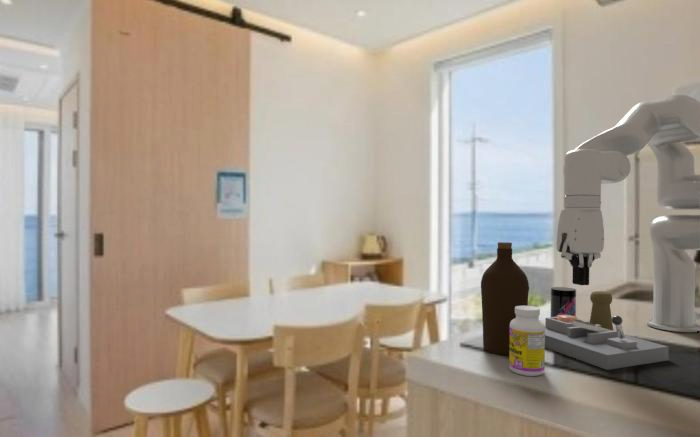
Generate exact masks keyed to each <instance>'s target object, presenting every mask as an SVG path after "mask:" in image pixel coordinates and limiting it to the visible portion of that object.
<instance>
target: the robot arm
mask: <svg viewBox="0 0 700 437" xmlns="http://www.w3.org/2000/svg"><path fill="white" fill-rule="evenodd" d="M622 117H623V118H621V119H620V121H618V123H617V124H616V125H614V126H613V127H611V128H608V129H607V130H605V131H603V132H601V133H599V134H598V135H595V136H593V137H591V138H590V139H588V140H586V141H584V142H582V143H581V144H579V146H577V147H576V148H575V149H574V150H573V149H571V150H570V151H568V152H566V154H565V156H564V164H563V165H564V166H563V176H564V179H563V183H564V184H563V209H561V210H560V212H559V219H558V224H557V230H556V231H557V232H556V234H557V235H556V250H557V252H559V253H560V254H561V255H560V258H561V259H564V260H568V261H569V265H570V267H572V284H573V285H579V286H589V285H590V268H591V267H592V265H593V262H594V261H595V260H598V259H600V258H601V256H602V255H601V253H602V252H603V251H604V247H605V226H604V219H603V212H602V210H601V209H602V207H601V205H602V201H601V199H602V198H601V195H602V194H601V193H602V190H601V189H602V185H605V184H607V185H609V184H616V183H619V182H622V181H624V180H625V179H626V178H627V177H628V176H629V175H630V172H631V165H632V164H631V162H630V159H629V157H628V156H630V155H634V154H636V153H638V152H640V151H641V150H642V149H644V148H645V147H646V146H648V147H650V149H651V151H652V153H653V154H654V157H655V159H656V163H657V165H656V166H657V167H656V168H657V169H656V170H657V173H656V175H657V178H656V184H657V186H656V198H657V199H656V200H657V203H658V205H659V207H661V208H662V209H664V210H665V209H666V210H672V211H675V210H676V211H677V210H678V211H682V210H684V211H693V210H695V211H696V210H697V211H699V210H700V174H696V173H695V157H694V154H693V153H692V152H691V150H690V149H689V148H688V147H687V146H686V145H684V144H683V142H692V141H700V101H699V100H697V99H696V98H694V97H692V96H689V95H685V94H673V95H668V96H663V97H657V98H653V99H652V98H651V99H646V100H643V101H640V102H639V103H636V104H635V105H634V106H632V108H630V110H629V111H628V112H627V113H626V114H625V115H624V116H622ZM649 226H650V227H649V236H650V240H651V245H652V251H653V303H652V304H653V306H652V307H653V308H652V310H653V311H652V312H653V313H652V314H653V316H652V317H653V318H649V319H647V320H646V324H647V325H648V326H649V327H651V328H654V329H658V330H664V331H669V332H675V333H677V332H678V333H698V332H697V331H699V332H700V324H699V323H696V320H700V311H699V312H696V308H695V305H696V304H695V303H696V300H695V299H696V296H695V294H696V292H695V291H696V266H695V263H694V261H693V259H692V258H691V256H690V255H689V254H688V253H687V251H688V250H691V251H700V214H666V215H665V214H664V215H660V216H657V217H656V218H654V219H653V220H652V221H651V223H650V225H649Z"/></svg>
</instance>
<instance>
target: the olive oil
mask: <svg viewBox="0 0 700 437" xmlns="http://www.w3.org/2000/svg"><path fill="white" fill-rule="evenodd" d="M512 246H513V244H512V242H508V241H507V242H504V241H502V242H497V248H496V259H495V260H494V261H493V262H492V263H491V265H489V266H488V267H487V269H485V270H484V272H483V273H482V276H481V279H480V294H481V316H482V317H481V318H482V347H483V349H484V350H485V351H487V352H489V353H493V354H496V355H497V354H498V355H504V356H505V355H506V356H509V343H510V322H511V320H513V319H515V318H516V314H515V307H516V306H529V305H528V303H529V291H530V285H529V281H528V277H527V275H526V273H525V272H524V270H523V269H522V268H521V267H520V266H519V265H518V264H517V262H516V261H515V260H514V259H513V248H512Z"/></svg>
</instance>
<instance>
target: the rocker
mask: <svg viewBox="0 0 700 437" xmlns="http://www.w3.org/2000/svg"><path fill="white" fill-rule="evenodd" d="M573 325H575V326H578V327H582V328H586V329H589V330H594V331H598V332H604V331H612V330H608V329H605V328H601V327H597V326H596V325H594V324H591V323H587V322H583V321H579V320H575V321H574V322H573Z"/></svg>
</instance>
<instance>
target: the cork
mask: <svg viewBox="0 0 700 437" xmlns="http://www.w3.org/2000/svg"><path fill="white" fill-rule="evenodd" d="M589 296H590V299H589V300H590V302H591V303H592V304H591V305H592V306H591V310H590V318H589V322H590V323H591V324H594V325H595V324H598V325H601V328H605V329H608V330H612V331H613V330H614V323H613V322H612V318H613V316H612V312H611V304H612V303H613V296H612V294H611V293H610V292H608V291H604V290H597V291H592V292H591V293H590V295H589Z"/></svg>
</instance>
